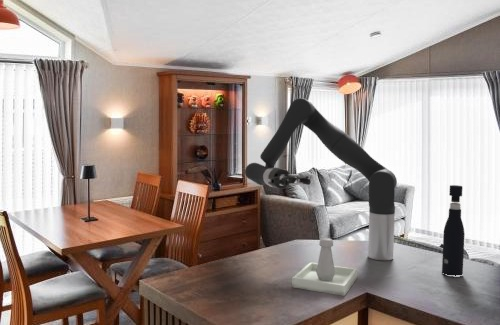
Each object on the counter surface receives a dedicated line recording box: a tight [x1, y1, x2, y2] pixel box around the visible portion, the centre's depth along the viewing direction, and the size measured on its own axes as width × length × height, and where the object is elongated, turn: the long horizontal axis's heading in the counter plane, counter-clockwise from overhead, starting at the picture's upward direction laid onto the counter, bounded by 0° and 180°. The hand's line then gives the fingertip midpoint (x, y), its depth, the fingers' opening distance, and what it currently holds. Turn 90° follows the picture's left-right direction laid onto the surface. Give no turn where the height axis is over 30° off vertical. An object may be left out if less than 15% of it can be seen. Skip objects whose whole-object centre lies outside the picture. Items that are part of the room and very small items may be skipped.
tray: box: [291, 261, 358, 297], centre depth 143 cm, size 18×16×3 cm
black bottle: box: [441, 184, 465, 276], centre depth 151 cm, size 6×6×30 cm
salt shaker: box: [316, 237, 335, 281], centre depth 143 cm, size 6×6×13 cm
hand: (298, 182), depth 157 cm, fingers open, 8 cm apart
